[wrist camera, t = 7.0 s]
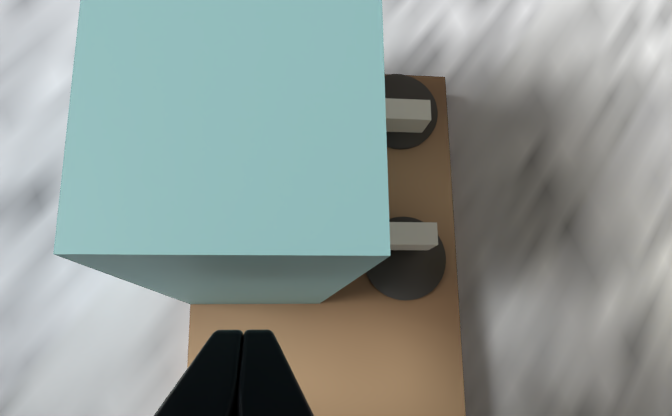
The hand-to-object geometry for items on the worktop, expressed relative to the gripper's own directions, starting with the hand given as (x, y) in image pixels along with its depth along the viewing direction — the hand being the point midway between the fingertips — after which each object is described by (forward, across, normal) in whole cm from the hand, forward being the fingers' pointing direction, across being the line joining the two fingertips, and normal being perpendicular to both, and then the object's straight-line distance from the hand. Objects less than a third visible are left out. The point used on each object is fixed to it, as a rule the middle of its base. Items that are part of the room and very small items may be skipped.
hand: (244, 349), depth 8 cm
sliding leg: (+7, -1, +3) cm, 7 cm away
